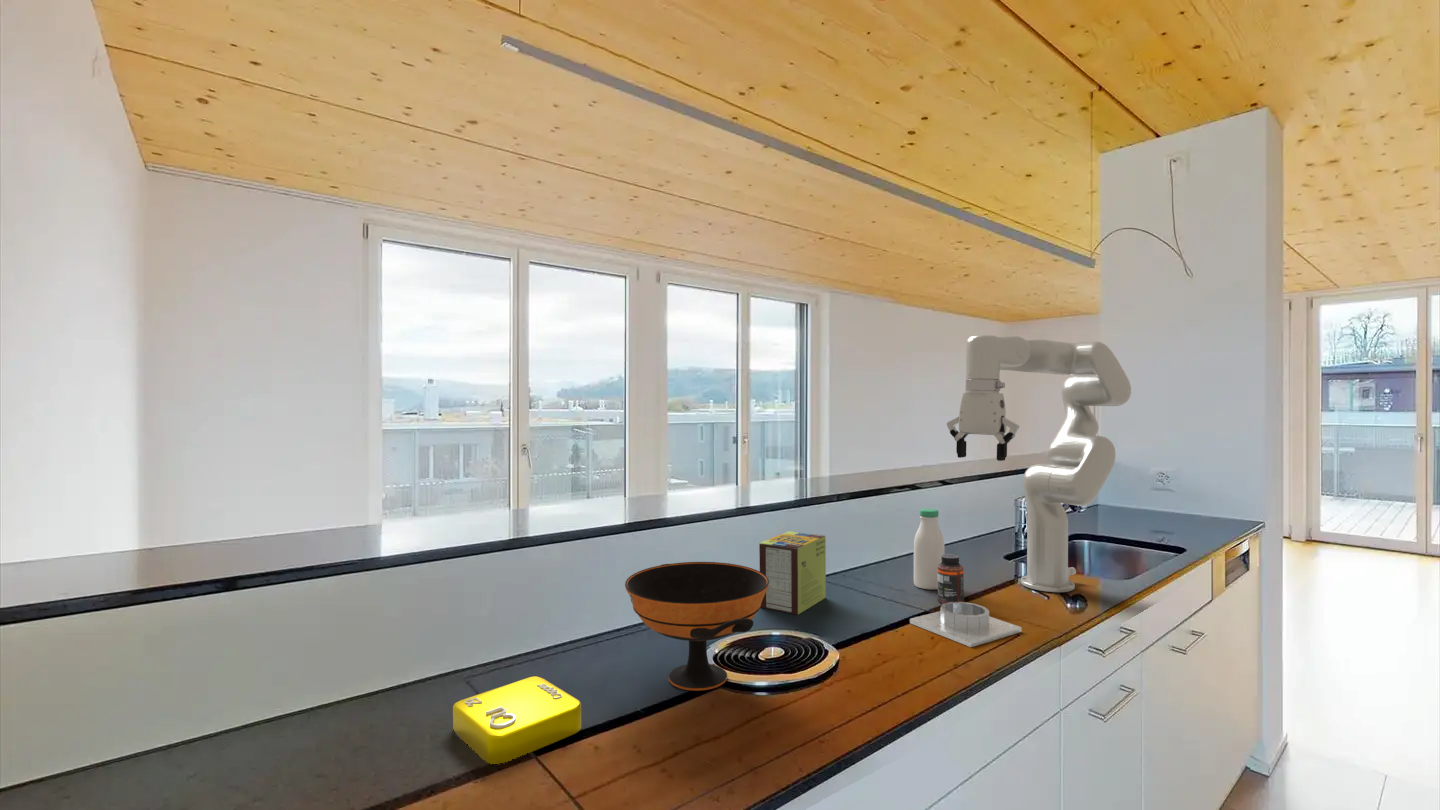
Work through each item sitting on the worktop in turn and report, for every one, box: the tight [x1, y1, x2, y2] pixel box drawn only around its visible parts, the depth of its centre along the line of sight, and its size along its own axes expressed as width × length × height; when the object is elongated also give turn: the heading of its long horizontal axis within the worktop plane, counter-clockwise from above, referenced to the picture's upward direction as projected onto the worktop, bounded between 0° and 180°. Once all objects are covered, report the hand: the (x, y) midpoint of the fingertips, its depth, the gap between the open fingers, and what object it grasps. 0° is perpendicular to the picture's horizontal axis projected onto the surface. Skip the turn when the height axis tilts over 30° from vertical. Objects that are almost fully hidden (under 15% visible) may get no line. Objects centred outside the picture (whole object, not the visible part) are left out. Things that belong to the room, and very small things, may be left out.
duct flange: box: [909, 601, 1022, 648], centre depth 143 cm, size 16×16×4 cm
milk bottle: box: [913, 508, 946, 591], centre depth 173 cm, size 8×8×20 cm
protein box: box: [758, 530, 827, 616], centre depth 160 cm, size 10×15×16 cm
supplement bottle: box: [937, 553, 965, 605], centre depth 160 cm, size 6×6×11 cm
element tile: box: [452, 675, 582, 765], centre depth 101 cm, size 15×15×5 cm
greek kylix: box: [624, 561, 769, 692], centre depth 118 cm, size 36×26×18 cm
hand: (980, 458), depth 159 cm, fingers open, 9 cm apart
